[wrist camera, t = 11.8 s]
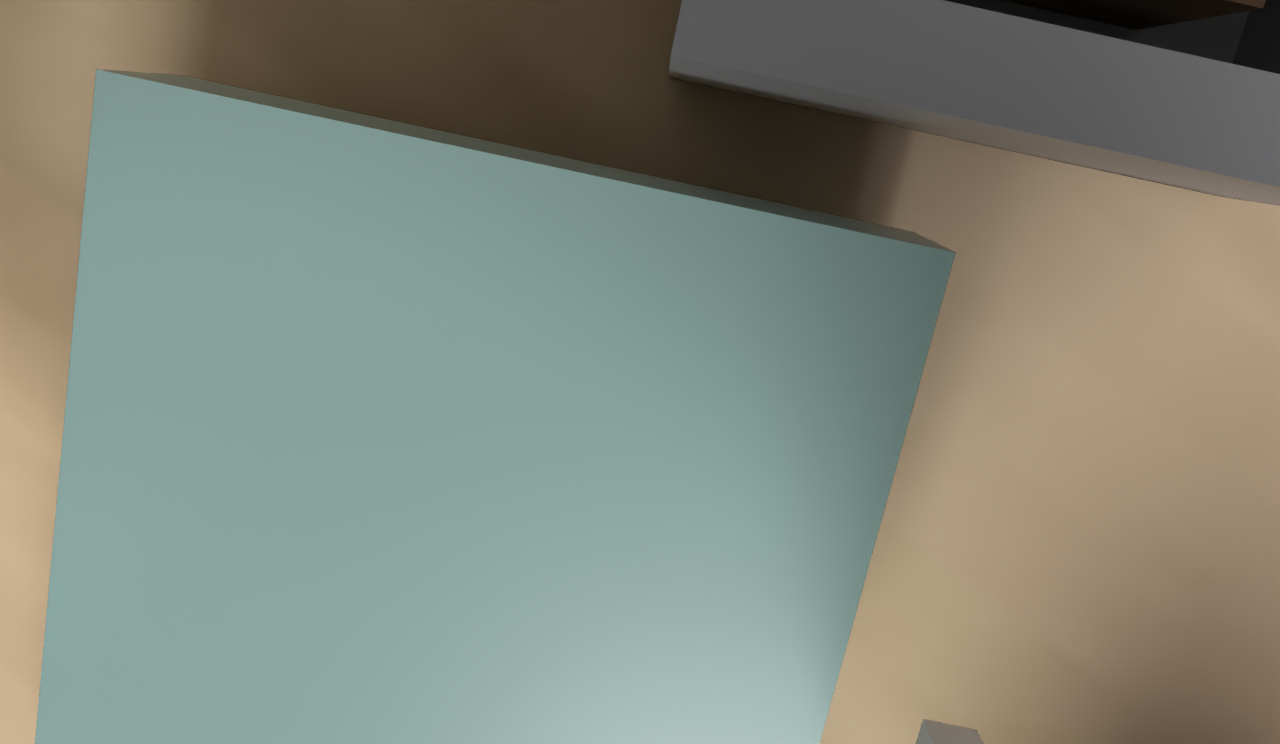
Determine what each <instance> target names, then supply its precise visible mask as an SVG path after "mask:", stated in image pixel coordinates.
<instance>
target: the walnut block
mask: <svg viewBox="0 0 1280 744" xmlns="http://www.w3.org/2000/svg"><path fill="white" fill-rule="evenodd" d="M1002 1H1006V2H1011V3H1015V4H1020V5H1025V6H1029V7H1034V8H1038V9H1043V10H1047V11H1052V12H1056V13H1061V14H1065V15H1070V16H1075V17H1079V18H1084V19H1088V20H1093V21H1097V22H1102V23H1106V24H1111V25H1115V26H1120V27H1125V28H1129V29H1134V30H1140V29H1146V28H1152V27H1157V26H1163V25H1169V24H1175V23H1181V22H1186V21H1192V20H1198V19H1204V18H1210V17H1216V16H1221V15H1227V14H1233V13H1239V12H1245V11H1251V10H1256V9H1262V8H1263V7H1264V4H1265V1H1266V0H1002Z"/></svg>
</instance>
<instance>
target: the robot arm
mask: <svg viewBox="0 0 1280 744" xmlns="http://www.w3.org/2000/svg"><path fill="white" fill-rule="evenodd" d="M916 744H983V742H982V740H981V738H980V736H979V734H978V731H977V730H974V729H970V728H965V727H960V726H955V725H950V724H946V723H941V722H936V721H931V720H926V719H923V721H922V725H921V728H920V731H919V735H918V738H917V741H916Z"/></svg>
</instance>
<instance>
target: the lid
mask: <svg viewBox="0 0 1280 744" xmlns="http://www.w3.org/2000/svg"><path fill="white" fill-rule="evenodd" d="M954 257H955V252H953V251H951V250H949V249H947V248H945V247H943V246H941V245H939V244H937V243H935V242H933V241H931V240H928V239H926V238H924V237H922V236H920V235H918V234H916V233H914V232H911V231H907V230H902V229H897V228H893V227H888V226H883V225H879V224H874V223H869V222H865V221H860V220H855V219H851V218H846V217H841V216H837V215H832V214H827V213H823V212H818V211H813V210H809V209H804V208H799V207H795V206H790V205H785V204H781V203H776V202H771V201H767V200H762V199H757V198H752V197H748V196H743V195H738V194H734V193H729V192H724V191H720V190H715V189H710V188H706V187H701V186H696V185H692V184H687V183H682V182H678V181H673V180H668V179H664V178H659V177H654V176H650V175H645V174H640V173H636V172H631V171H626V170H622V169H617V168H612V167H608V166H603V165H598V164H594V163H589V162H584V161H580V160H575V159H570V158H565V157H561V156H556V155H551V154H547V153H542V152H537V151H533V150H528V149H523V148H519V147H514V146H509V145H505V144H500V143H495V142H491V141H486V140H481V139H477V138H472V137H467V136H463V135H458V134H453V133H449V132H444V131H439V130H435V129H430V128H425V127H421V126H416V125H411V124H407V123H402V122H397V121H392V120H388V119H383V118H378V117H374V116H369V115H364V114H360V113H355V112H350V111H346V110H341V109H336V108H332V107H327V106H322V105H318V104H313V103H308V102H304V101H299V100H294V99H290V98H285V97H280V96H276V95H271V94H266V93H262V92H257V91H252V90H248V89H243V88H238V87H234V86H229V85H224V84H220V83H215V82H210V81H205V80H201V79H196V78H191V77H187V76H182V75H169V74H155V73H141V72H127V71H113V70H100V69H96V78H95V89H94V100H93V111H92V122H91V133H90V144H89V155H88V166H87V177H86V188H85V199H84V210H83V221H82V232H81V243H80V254H79V265H78V276H77V287H76V298H75V309H74V320H73V331H72V342H71V353H70V363H69V374H68V385H67V396H66V407H65V418H64V429H63V440H62V451H61V462H60V473H59V484H58V495H57V506H56V517H55V528H54V539H53V550H52V561H51V572H50V583H49V594H48V605H47V616H46V627H45V638H44V649H43V660H42V671H41V682H40V693H39V704H38V715H37V726H36V737H35V744H820V740H821V737H822V733H823V729H824V726H825V722H826V719H827V715H828V711H829V708H830V704H831V700H832V697H833V693H834V690H835V686H836V682H837V679H838V675H839V672H840V668H841V664H842V661H843V657H844V654H845V650H846V646H847V643H848V639H849V636H850V632H851V628H852V625H853V621H854V617H855V614H856V610H857V607H858V603H859V599H860V596H861V592H862V589H863V585H864V581H865V578H866V574H867V571H868V567H869V563H870V560H871V556H872V553H873V549H874V545H875V542H876V538H877V534H878V531H879V527H880V524H881V520H882V516H883V513H884V509H885V506H886V502H887V498H888V495H889V491H890V488H891V484H892V480H893V477H894V473H895V469H896V466H897V462H898V459H899V455H900V451H901V448H902V444H903V441H904V437H905V433H906V430H907V426H908V423H909V419H910V415H911V412H912V408H913V405H914V401H915V397H916V394H917V390H918V386H919V383H920V379H921V376H922V372H923V368H924V365H925V361H926V358H927V354H928V350H929V347H930V343H931V340H932V336H933V332H934V329H935V325H936V321H937V318H938V314H939V311H940V307H941V303H942V300H943V296H944V293H945V289H946V285H947V282H948V278H949V275H950V271H951V267H952V264H953V260H954Z"/></svg>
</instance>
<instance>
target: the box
mask: <svg viewBox="0 0 1280 744" xmlns="http://www.w3.org/2000/svg"><path fill="white" fill-rule="evenodd" d="M669 77H671V78H676V79H680V80H685V81H690V82H694V83H699V84H704V85H708V86H713V87H717V88H722V89H727V90H731V91H736V92H741V93H745V94H750V95H754V96H759V97H764V98H768V99H773V100H777V101H782V102H787V103H791V104H796V105H801V106H805V107H810V108H814V109H819V110H824V111H828V112H833V113H838V114H842V115H847V116H851V117H856V118H861V119H865V120H870V121H874V122H879V123H884V124H888V125H893V126H898V127H902V128H907V129H911V130H916V131H921V132H925V133H930V134H935V135H939V136H944V137H948V138H953V139H958V140H962V141H967V142H972V143H976V144H981V145H985V146H990V147H995V148H999V149H1004V150H1008V151H1013V152H1018V153H1022V154H1027V155H1032V156H1036V157H1041V158H1045V159H1050V160H1055V161H1059V162H1064V163H1069V164H1073V165H1078V166H1082V167H1087V168H1092V169H1096V170H1101V171H1105V172H1110V173H1115V174H1119V175H1124V176H1129V177H1133V178H1138V179H1142V180H1147V181H1152V182H1156V183H1161V184H1166V185H1170V186H1175V187H1179V188H1184V189H1189V190H1193V191H1198V192H1202V193H1207V194H1212V195H1216V196H1221V197H1226V198H1233V199H1239V200H1246V201H1252V202H1259V203H1265V204H1272V205H1278V206H1280V0H1266V1H1265V4H1264V7H1263V8H1262V9H1256V10H1251V11H1245V12H1239V13H1233V14H1227V15H1221V16H1216V17H1210V18H1204V19H1198V20H1192V21H1186V22H1181V23H1175V24H1169V25H1163V26H1157V27H1152V28H1146V29H1140V30H1134V29H1129V28H1125V27H1120V26H1115V25H1111V24H1106V23H1102V22H1097V21H1093V20H1088V19H1084V18H1079V17H1075V16H1070V15H1065V14H1061V13H1056V12H1052V11H1047V10H1043V9H1038V8H1034V7H1029V6H1025V5H1020V4H1015V3H1011V2H1006V1H1002V0H682V3H681V8H680V12H679V17H678V22H677V27H676V32H675V36H674V41H673V46H672V51H671V57H670V68H669Z"/></svg>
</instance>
